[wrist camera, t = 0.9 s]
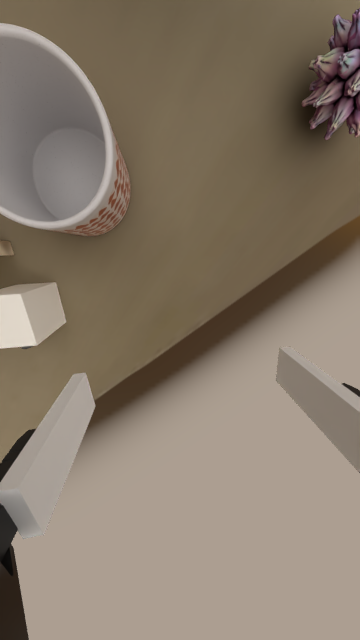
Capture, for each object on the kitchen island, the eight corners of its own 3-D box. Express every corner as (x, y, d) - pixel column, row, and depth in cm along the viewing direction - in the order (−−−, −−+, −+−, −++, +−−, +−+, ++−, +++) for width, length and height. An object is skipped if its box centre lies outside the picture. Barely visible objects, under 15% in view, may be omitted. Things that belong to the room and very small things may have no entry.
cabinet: (17, 284, 32) (-33, 297, 24) (56, 282, 33) (20, 293, 24) (32, 331, 35) (-8, 357, 26) (67, 328, 35) (39, 353, 27)
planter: (13, 195, 28) (-93, 155, 16) (57, 96, 25) (-34, -43, 13) (102, 254, 32) (68, 258, 20) (149, 175, 29) (143, 123, 17)
